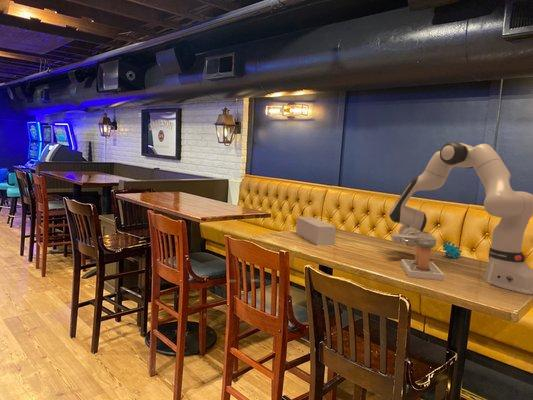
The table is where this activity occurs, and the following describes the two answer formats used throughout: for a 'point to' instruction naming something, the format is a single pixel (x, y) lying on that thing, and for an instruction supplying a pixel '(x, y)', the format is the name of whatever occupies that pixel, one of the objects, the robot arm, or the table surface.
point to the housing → (416, 273)
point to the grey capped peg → (424, 254)
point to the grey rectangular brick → (316, 231)
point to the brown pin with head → (418, 248)
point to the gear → (451, 250)
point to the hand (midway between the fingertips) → (416, 243)
